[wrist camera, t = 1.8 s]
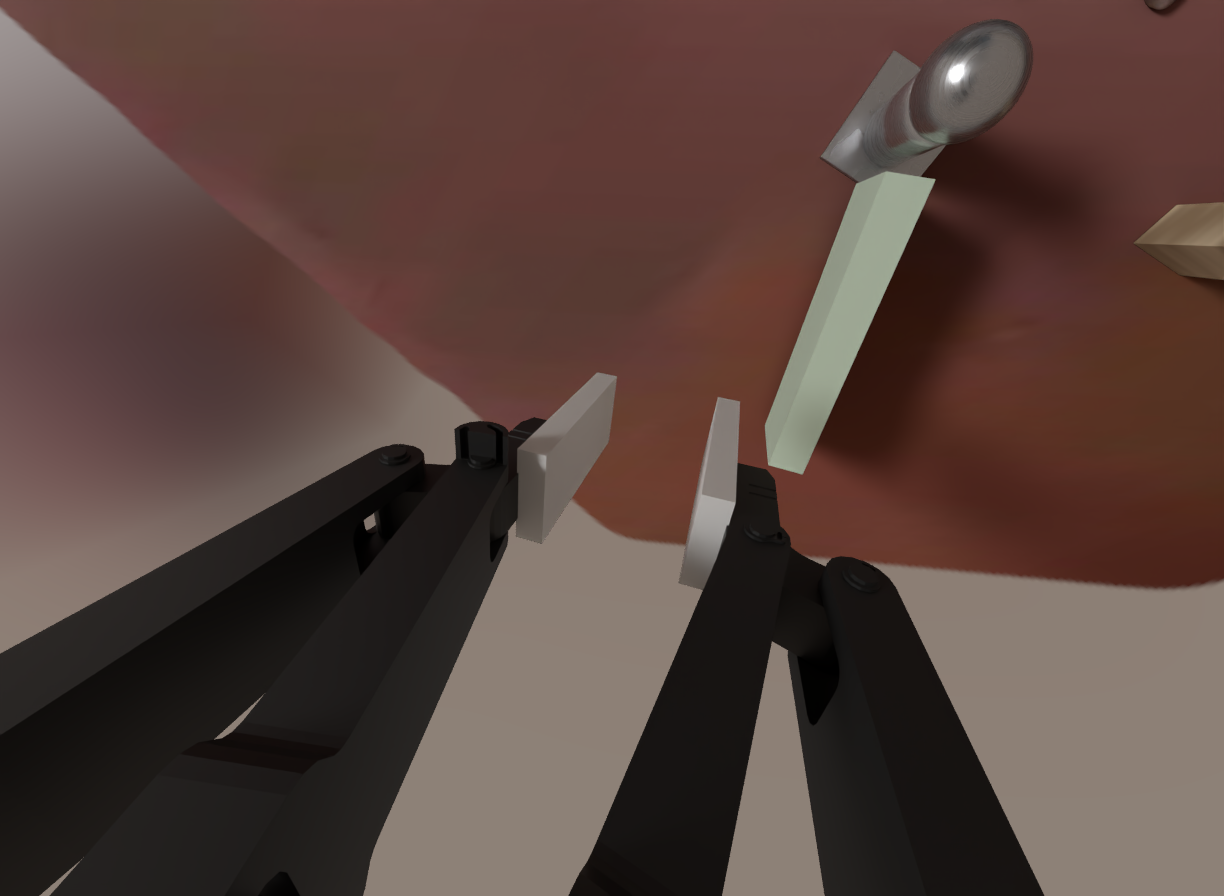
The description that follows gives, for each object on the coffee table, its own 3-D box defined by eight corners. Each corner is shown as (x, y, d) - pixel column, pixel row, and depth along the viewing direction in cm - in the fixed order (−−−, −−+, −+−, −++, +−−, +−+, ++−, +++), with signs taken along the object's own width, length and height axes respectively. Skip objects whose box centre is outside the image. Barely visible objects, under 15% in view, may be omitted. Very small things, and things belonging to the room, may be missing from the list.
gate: (856, 183, 24) (886, 171, 19) (894, 190, 24) (935, 179, 18) (764, 425, 31) (768, 464, 26) (793, 433, 31) (802, 474, 26)
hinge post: (890, 54, 22) (997, -76, 13) (971, 109, 22) (1138, 21, 13) (819, 158, 25) (864, 113, 15) (892, 207, 25) (982, 194, 15)
